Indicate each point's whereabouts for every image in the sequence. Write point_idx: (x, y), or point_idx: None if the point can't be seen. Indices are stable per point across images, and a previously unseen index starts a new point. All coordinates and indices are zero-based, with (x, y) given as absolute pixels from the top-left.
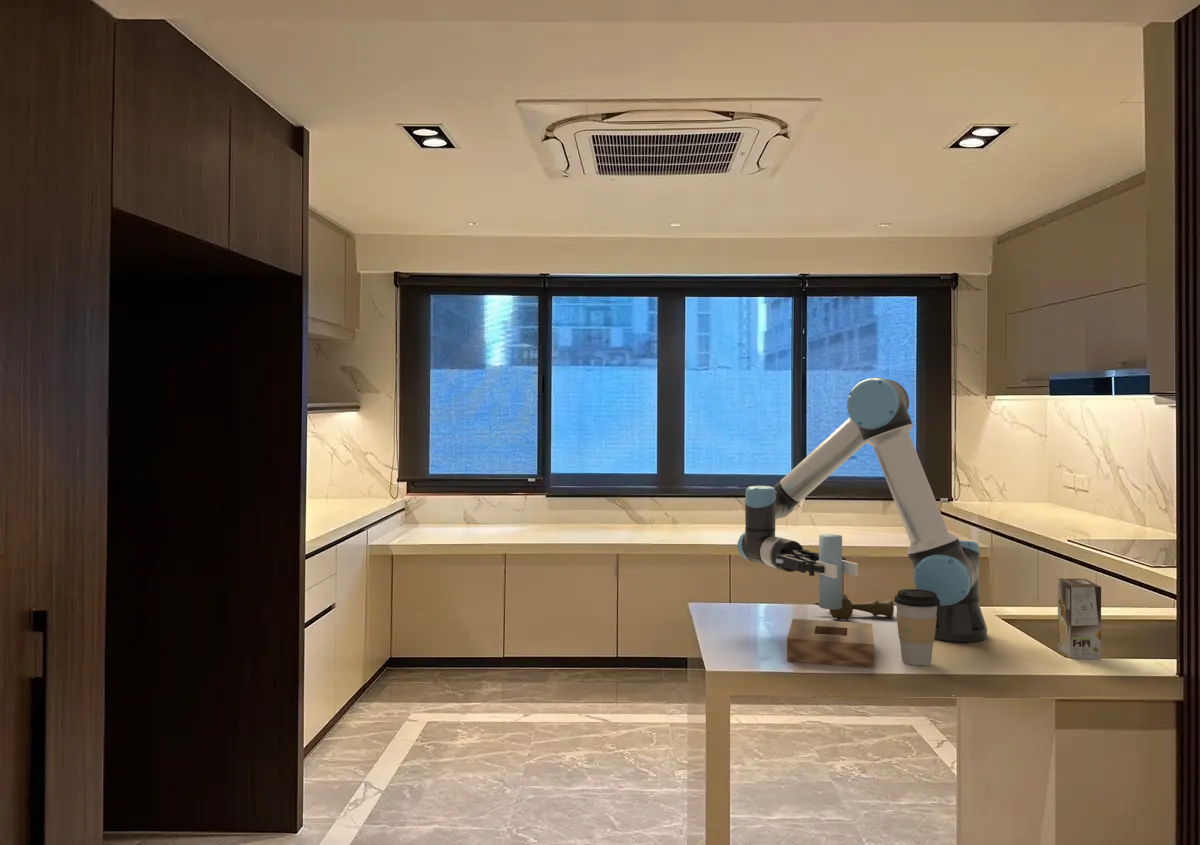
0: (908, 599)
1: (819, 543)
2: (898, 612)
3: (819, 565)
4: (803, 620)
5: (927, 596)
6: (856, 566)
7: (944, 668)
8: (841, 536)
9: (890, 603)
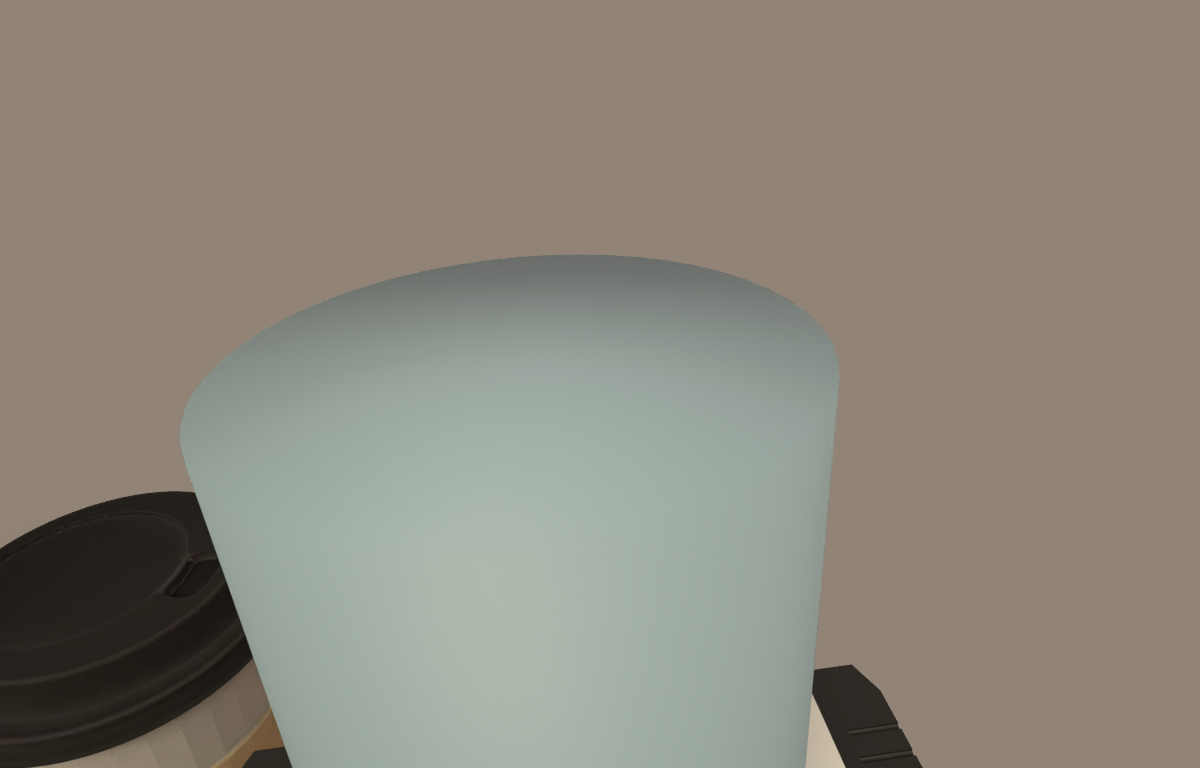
0: None
1: (821, 569)
2: (260, 701)
3: (850, 740)
4: None
5: (166, 494)
6: None
7: None
8: (355, 294)
9: None
